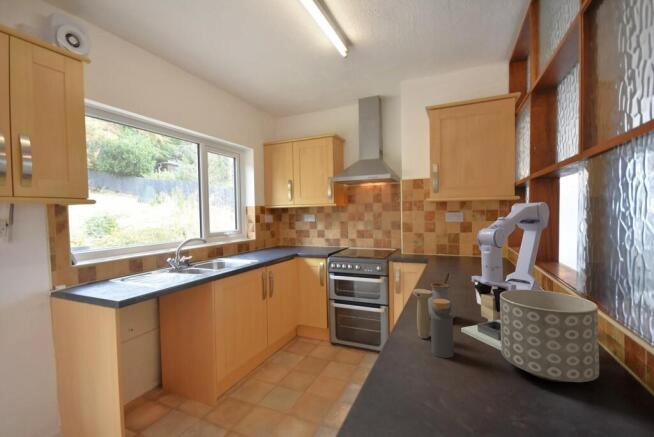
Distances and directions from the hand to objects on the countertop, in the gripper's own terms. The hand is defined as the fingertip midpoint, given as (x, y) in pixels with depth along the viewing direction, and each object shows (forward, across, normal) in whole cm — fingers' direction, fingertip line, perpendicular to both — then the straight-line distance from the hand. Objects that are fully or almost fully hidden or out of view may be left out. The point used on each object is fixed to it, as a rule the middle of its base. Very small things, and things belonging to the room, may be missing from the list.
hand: (493, 308), depth 90 cm
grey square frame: (+8, 0, +2) cm, 8 cm away
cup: (+10, -27, +28) cm, 40 cm away
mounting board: (+9, 0, +1) cm, 9 cm away
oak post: (+3, 0, 0) cm, 3 cm away
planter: (+10, +19, -5) cm, 22 cm away
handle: (+9, -9, -20) cm, 24 cm away
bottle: (+9, +2, -22) cm, 24 cm away
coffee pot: (+10, -24, +1) cm, 25 cm away
